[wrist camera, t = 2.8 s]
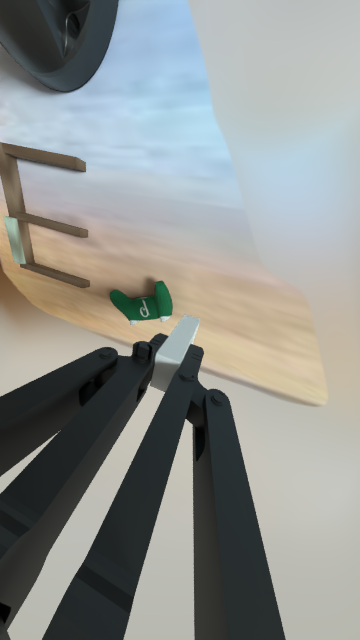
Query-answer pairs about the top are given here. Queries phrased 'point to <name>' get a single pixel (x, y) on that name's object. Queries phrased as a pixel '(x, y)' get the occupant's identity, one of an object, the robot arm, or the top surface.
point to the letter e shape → (5, 165)
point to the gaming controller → (145, 305)
